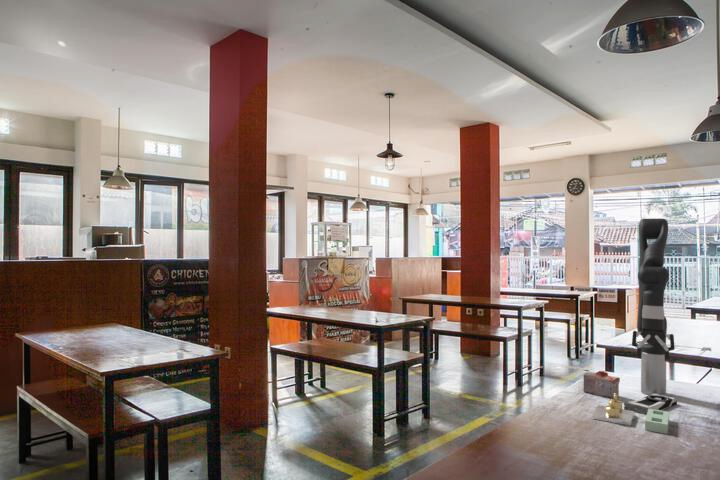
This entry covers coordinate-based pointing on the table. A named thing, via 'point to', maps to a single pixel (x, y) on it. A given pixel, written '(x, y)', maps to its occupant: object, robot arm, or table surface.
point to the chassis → (614, 413)
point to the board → (657, 421)
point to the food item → (601, 384)
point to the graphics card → (650, 403)
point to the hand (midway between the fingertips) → (652, 359)
